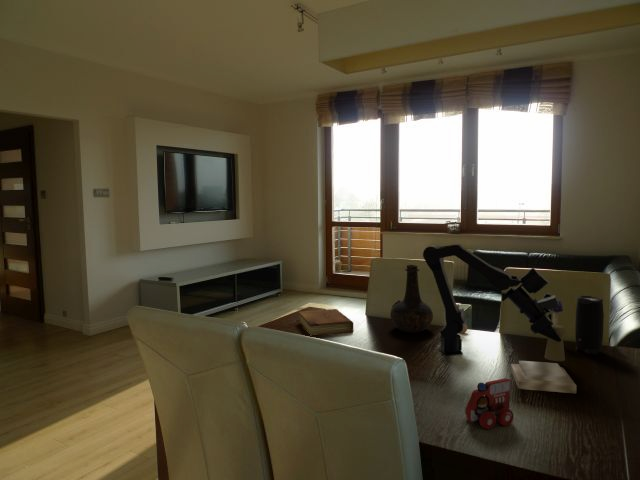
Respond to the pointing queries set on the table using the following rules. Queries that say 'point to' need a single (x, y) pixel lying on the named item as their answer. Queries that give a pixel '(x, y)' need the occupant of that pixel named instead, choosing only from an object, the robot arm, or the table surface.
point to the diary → (325, 322)
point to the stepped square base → (542, 377)
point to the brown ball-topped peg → (555, 346)
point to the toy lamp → (556, 312)
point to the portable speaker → (589, 324)
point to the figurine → (465, 325)
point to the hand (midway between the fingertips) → (560, 339)
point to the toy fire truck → (490, 404)
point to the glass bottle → (411, 307)
